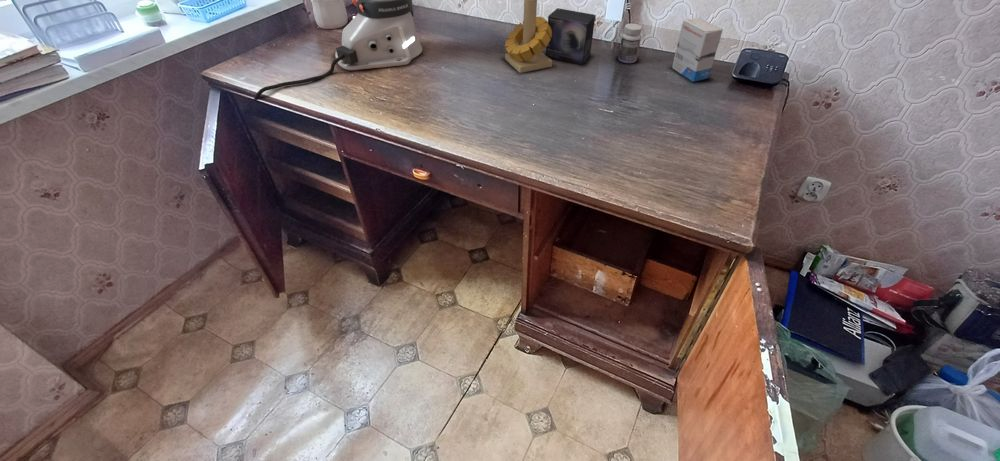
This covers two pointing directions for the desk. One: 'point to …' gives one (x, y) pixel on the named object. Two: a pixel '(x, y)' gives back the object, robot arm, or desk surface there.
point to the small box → (570, 35)
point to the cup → (330, 13)
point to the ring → (533, 46)
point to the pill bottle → (630, 43)
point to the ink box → (696, 49)
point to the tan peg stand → (528, 35)
